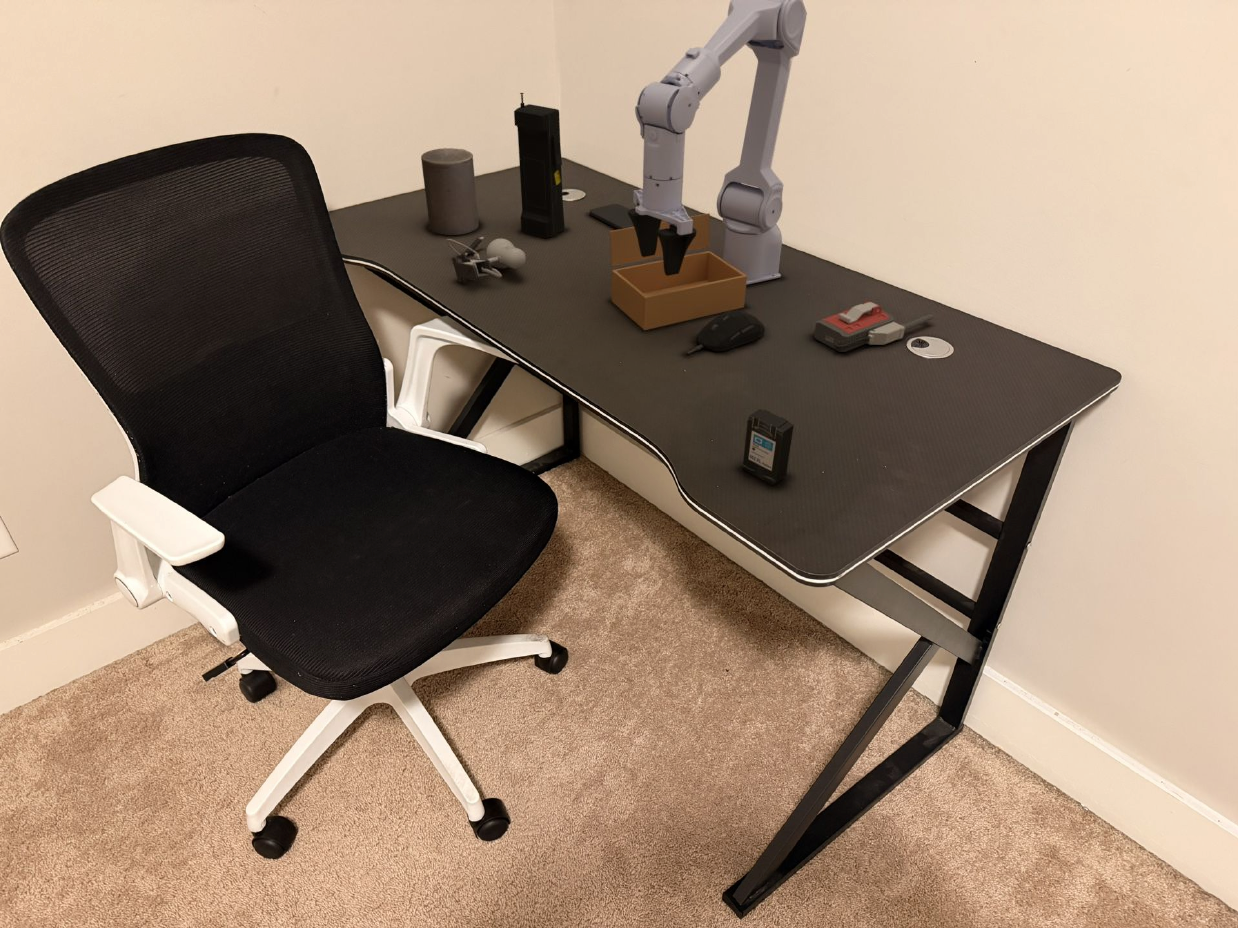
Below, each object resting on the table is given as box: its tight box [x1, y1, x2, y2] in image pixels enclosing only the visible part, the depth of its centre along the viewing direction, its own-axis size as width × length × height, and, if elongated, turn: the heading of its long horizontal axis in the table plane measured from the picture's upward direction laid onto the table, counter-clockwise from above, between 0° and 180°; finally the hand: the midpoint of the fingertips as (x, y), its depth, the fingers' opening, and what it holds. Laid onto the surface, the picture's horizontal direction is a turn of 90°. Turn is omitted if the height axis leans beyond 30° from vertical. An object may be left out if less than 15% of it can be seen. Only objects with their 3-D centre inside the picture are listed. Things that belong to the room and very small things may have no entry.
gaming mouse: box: [686, 309, 766, 356], centre depth 131 cm, size 6×15×4 cm, turn 128°
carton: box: [611, 250, 747, 331], centre depth 141 cm, size 18×12×6 cm, turn 117°
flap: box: [609, 213, 711, 267], centre depth 141 cm, size 18×6×1 cm
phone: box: [589, 203, 634, 230], centre depth 172 cm, size 7×1×15 cm
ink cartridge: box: [741, 408, 795, 486], centre depth 102 cm, size 5×2×8 cm, turn 46°
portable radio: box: [513, 92, 566, 239], centre depth 160 cm, size 8×6×25 cm
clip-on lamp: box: [446, 236, 527, 283], centre depth 151 cm, size 12×6×18 cm
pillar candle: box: [420, 147, 479, 236], centre depth 165 cm, size 10×10×15 cm
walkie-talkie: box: [813, 301, 934, 353], centre depth 133 cm, size 9×4×20 cm
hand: (659, 264), depth 131 cm, fingers open, 7 cm apart
